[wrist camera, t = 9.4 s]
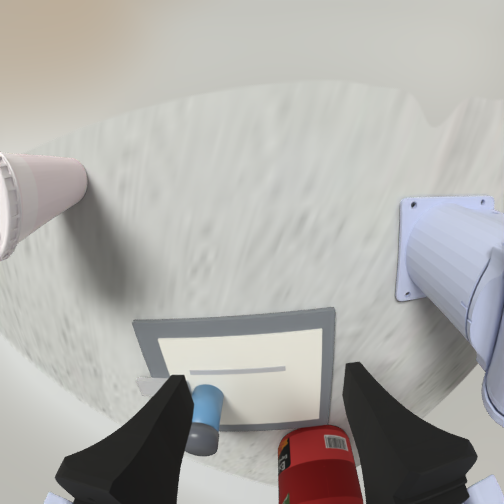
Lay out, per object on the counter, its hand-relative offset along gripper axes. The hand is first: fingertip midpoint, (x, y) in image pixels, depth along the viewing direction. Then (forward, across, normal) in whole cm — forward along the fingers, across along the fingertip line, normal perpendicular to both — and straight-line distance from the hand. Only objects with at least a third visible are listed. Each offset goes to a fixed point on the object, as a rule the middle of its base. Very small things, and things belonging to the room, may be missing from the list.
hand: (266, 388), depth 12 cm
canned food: (+10, -4, +20) cm, 23 cm away
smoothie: (+10, +14, -10) cm, 20 cm away
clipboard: (+10, +3, +9) cm, 14 cm away
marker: (+9, +6, +10) cm, 15 cm away
